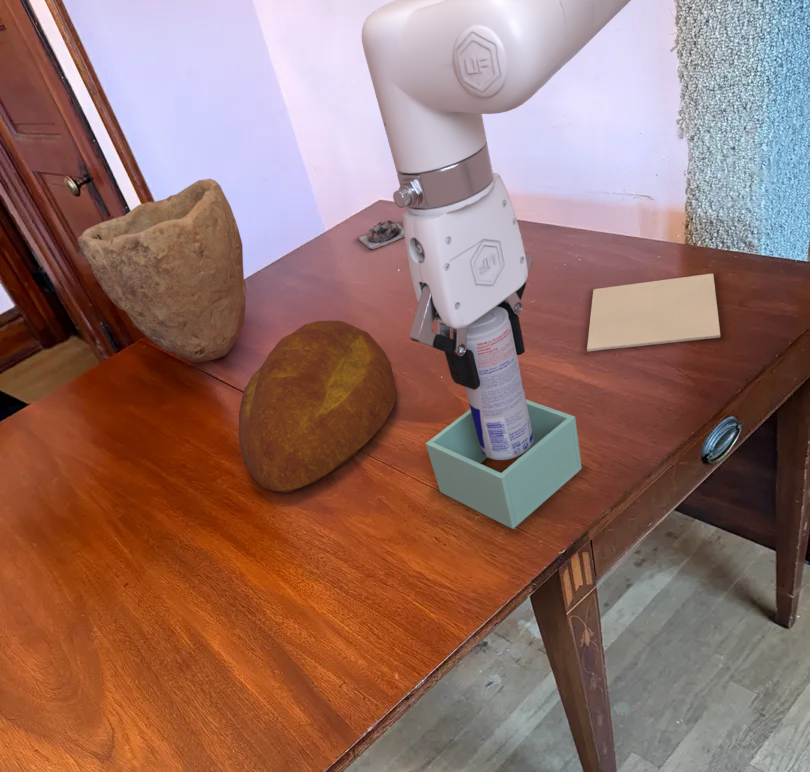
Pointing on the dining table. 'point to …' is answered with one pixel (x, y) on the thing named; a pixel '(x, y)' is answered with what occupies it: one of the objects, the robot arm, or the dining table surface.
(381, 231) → the rusty domed plate
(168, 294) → the bowl
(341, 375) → the bread
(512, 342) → the beverage can
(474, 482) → the open square box
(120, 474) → the dining table surface
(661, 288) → the mat
